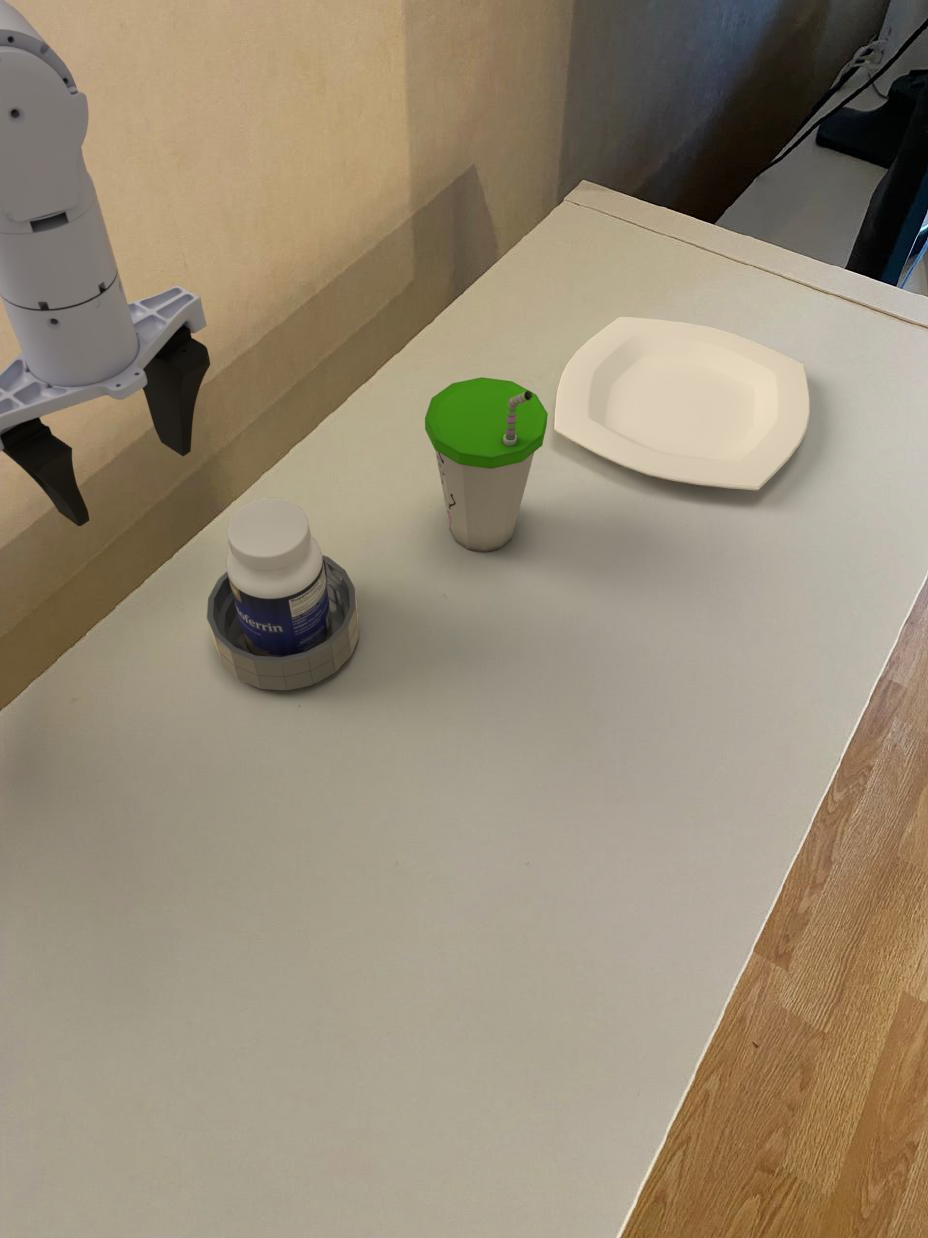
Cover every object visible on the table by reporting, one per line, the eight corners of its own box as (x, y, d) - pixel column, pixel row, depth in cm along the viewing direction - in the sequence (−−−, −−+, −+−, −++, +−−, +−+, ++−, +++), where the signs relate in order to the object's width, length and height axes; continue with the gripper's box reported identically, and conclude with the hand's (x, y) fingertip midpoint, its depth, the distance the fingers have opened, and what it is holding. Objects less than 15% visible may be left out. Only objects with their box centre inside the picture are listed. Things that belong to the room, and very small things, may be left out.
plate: (772, 530, 73) (779, 510, 71) (521, 454, 77) (523, 435, 76) (824, 376, 84) (831, 356, 82) (602, 318, 88) (605, 299, 87)
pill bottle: (225, 638, 65) (195, 531, 58) (286, 584, 68) (265, 476, 61) (291, 682, 63) (269, 577, 56) (351, 625, 66) (338, 517, 58)
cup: (427, 490, 75) (423, 315, 63) (533, 489, 75) (548, 315, 63) (427, 570, 70) (423, 396, 58) (540, 569, 70) (559, 395, 58)
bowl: (213, 701, 63) (203, 668, 60) (220, 587, 69) (211, 552, 66) (362, 689, 64) (358, 656, 61) (356, 577, 69) (352, 542, 67)
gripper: (-23, 382, 45) (68, 583, 55) (224, 243, 52) (262, 445, 62) (-112, 320, 47) (-9, 524, 58) (134, 196, 54) (185, 398, 65)
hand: (126, 480), depth 60 cm, fingers open, 7 cm apart
